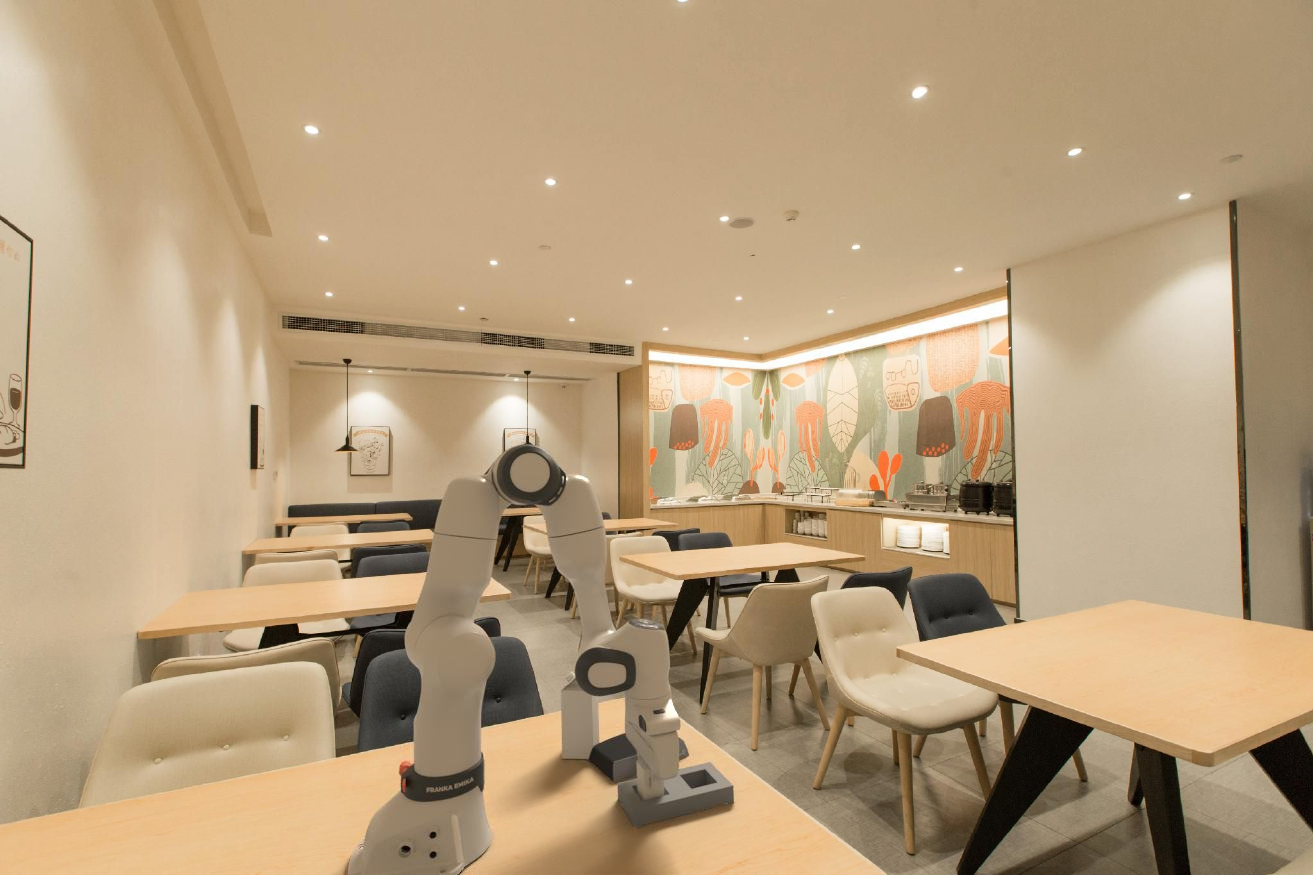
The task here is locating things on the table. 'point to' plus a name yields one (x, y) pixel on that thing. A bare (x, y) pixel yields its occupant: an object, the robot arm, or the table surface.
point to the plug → (646, 782)
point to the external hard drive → (620, 757)
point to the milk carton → (578, 720)
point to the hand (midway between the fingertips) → (650, 781)
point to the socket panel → (677, 795)
